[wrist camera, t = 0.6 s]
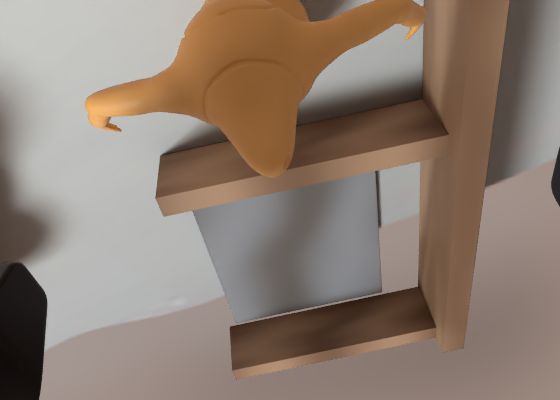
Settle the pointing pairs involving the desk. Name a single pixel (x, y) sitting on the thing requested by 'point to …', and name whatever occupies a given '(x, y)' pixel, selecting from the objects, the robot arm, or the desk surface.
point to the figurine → (251, 71)
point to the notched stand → (353, 210)
